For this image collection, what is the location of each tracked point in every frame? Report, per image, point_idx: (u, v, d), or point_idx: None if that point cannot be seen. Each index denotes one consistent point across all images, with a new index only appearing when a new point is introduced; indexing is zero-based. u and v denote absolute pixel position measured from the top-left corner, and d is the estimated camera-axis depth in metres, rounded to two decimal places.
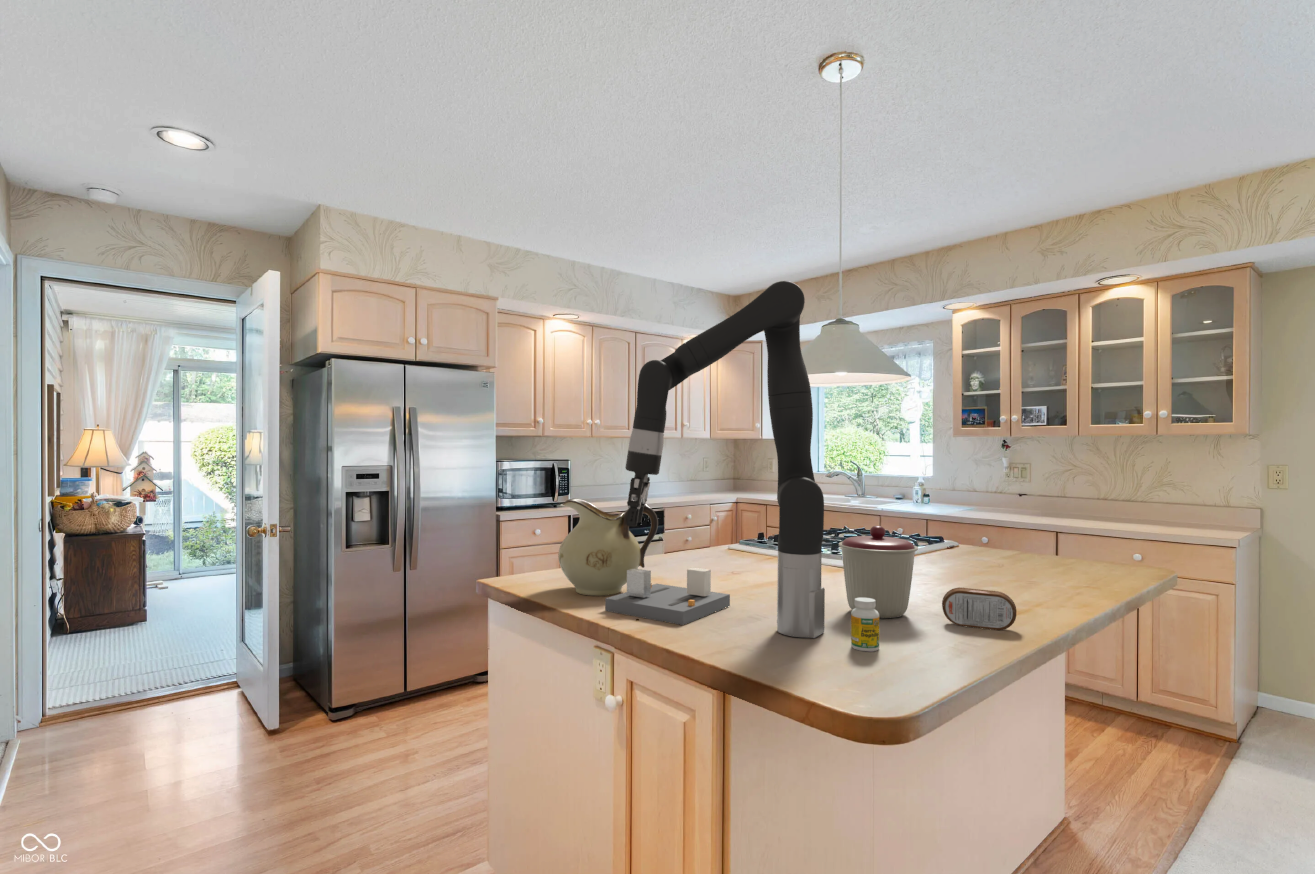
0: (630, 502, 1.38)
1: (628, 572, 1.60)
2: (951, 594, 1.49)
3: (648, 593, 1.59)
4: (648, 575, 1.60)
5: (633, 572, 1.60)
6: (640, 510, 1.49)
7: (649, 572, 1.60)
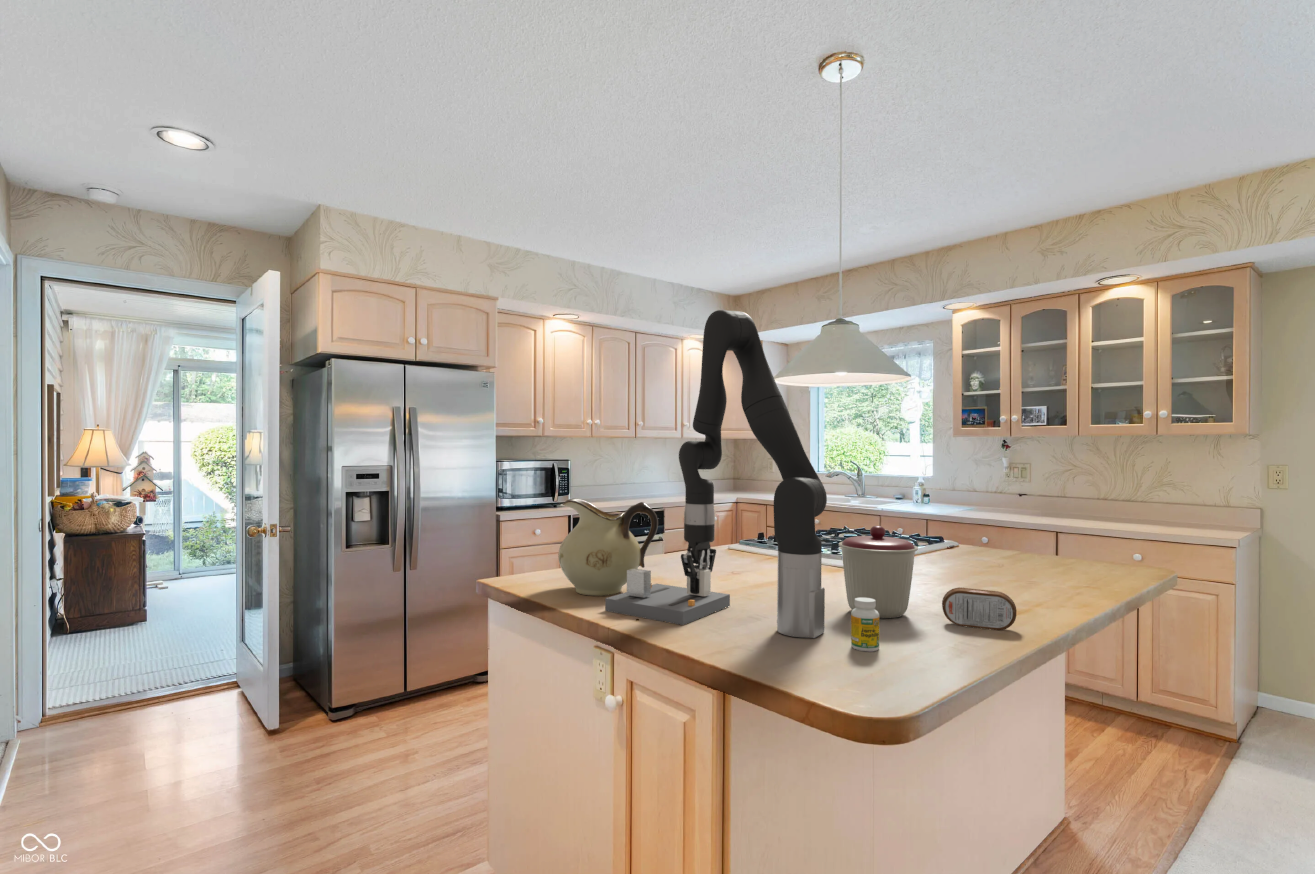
0: (686, 573, 1.59)
1: (628, 572, 1.60)
2: (951, 594, 1.49)
3: (648, 593, 1.59)
4: (648, 575, 1.60)
5: (633, 572, 1.60)
6: None
7: (649, 572, 1.60)
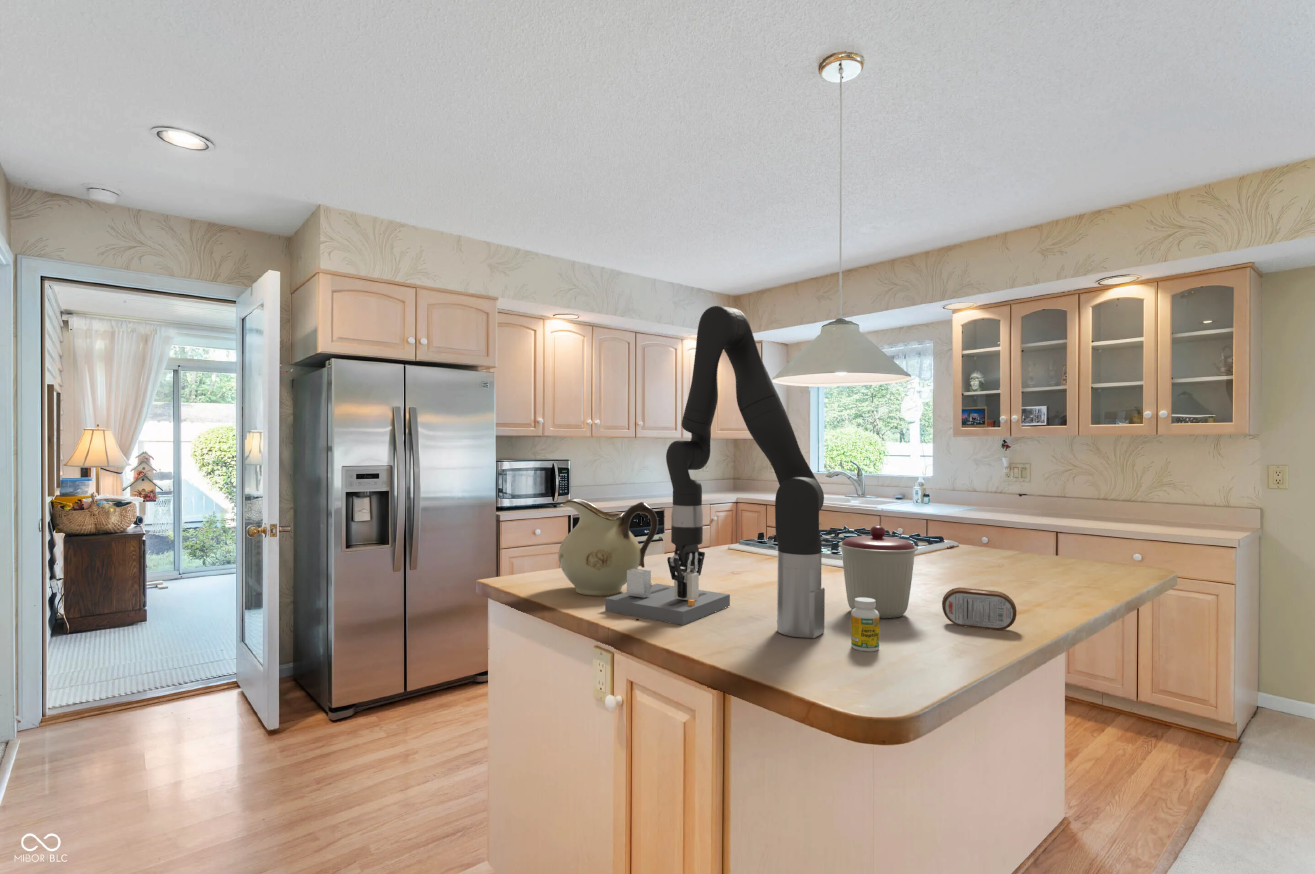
0: (673, 576, 1.54)
1: (628, 572, 1.60)
2: (951, 594, 1.49)
3: (648, 593, 1.59)
4: (648, 575, 1.60)
5: (633, 572, 1.60)
6: None
7: (649, 572, 1.60)
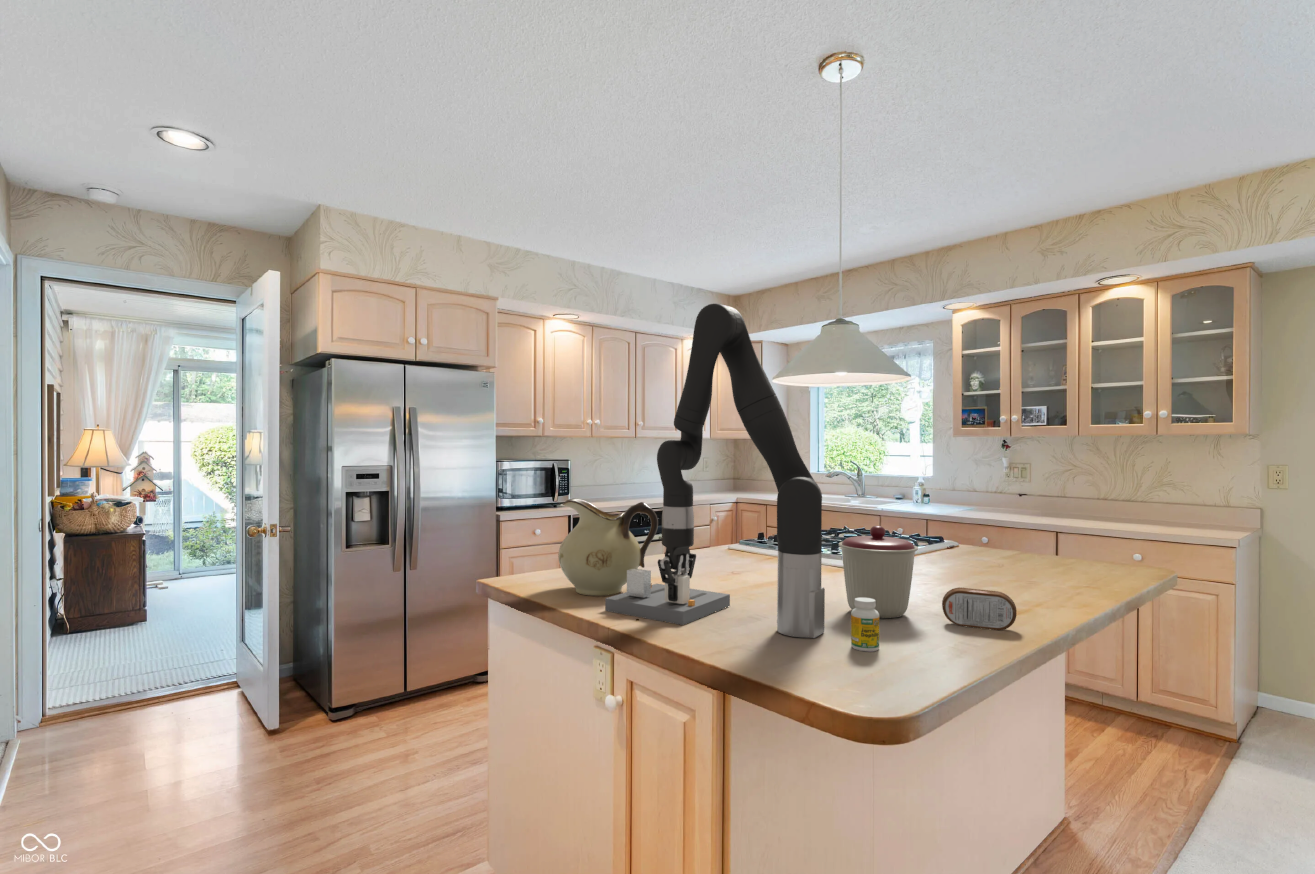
0: (664, 579, 1.51)
1: (628, 572, 1.60)
2: (951, 594, 1.49)
3: (648, 593, 1.59)
4: (648, 575, 1.60)
5: (633, 572, 1.60)
6: None
7: (649, 572, 1.60)
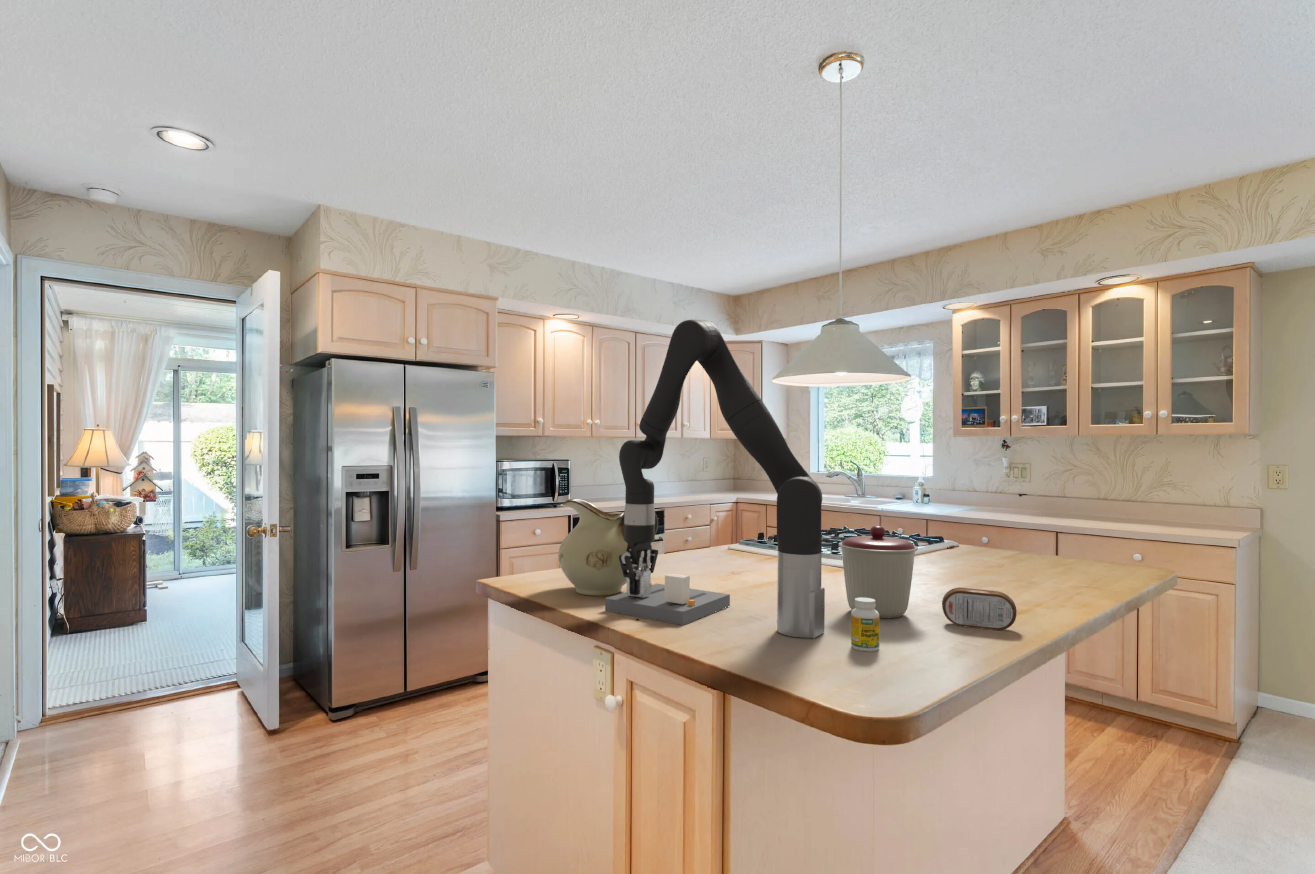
0: (625, 574, 1.57)
1: None
2: (951, 594, 1.49)
3: (648, 593, 1.59)
4: (648, 575, 1.59)
5: None
6: None
7: (649, 572, 1.60)
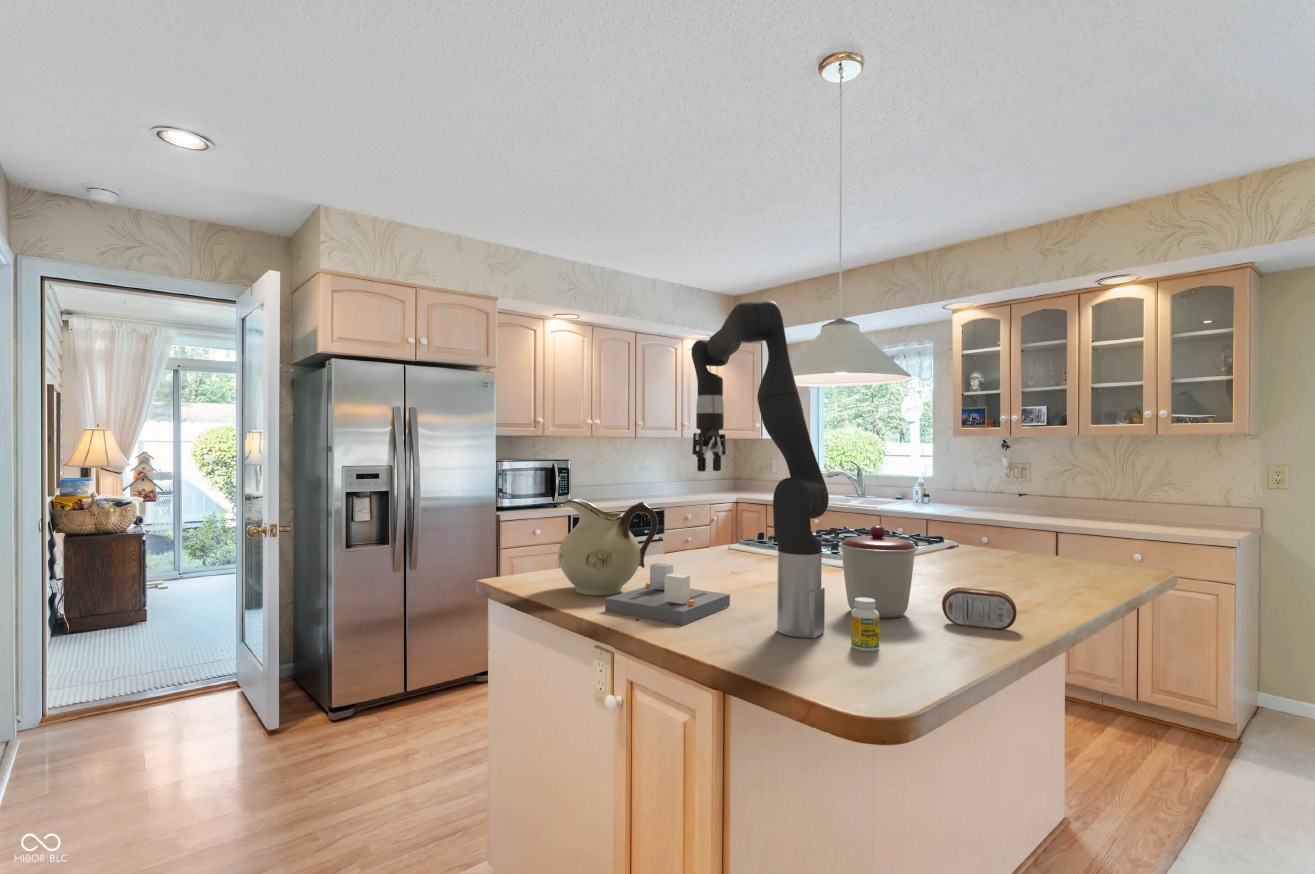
0: (694, 451, 1.77)
1: (651, 566, 1.69)
2: (951, 594, 1.49)
3: None
4: (670, 569, 1.68)
5: (656, 566, 1.68)
6: (718, 461, 1.85)
7: (671, 566, 1.68)
